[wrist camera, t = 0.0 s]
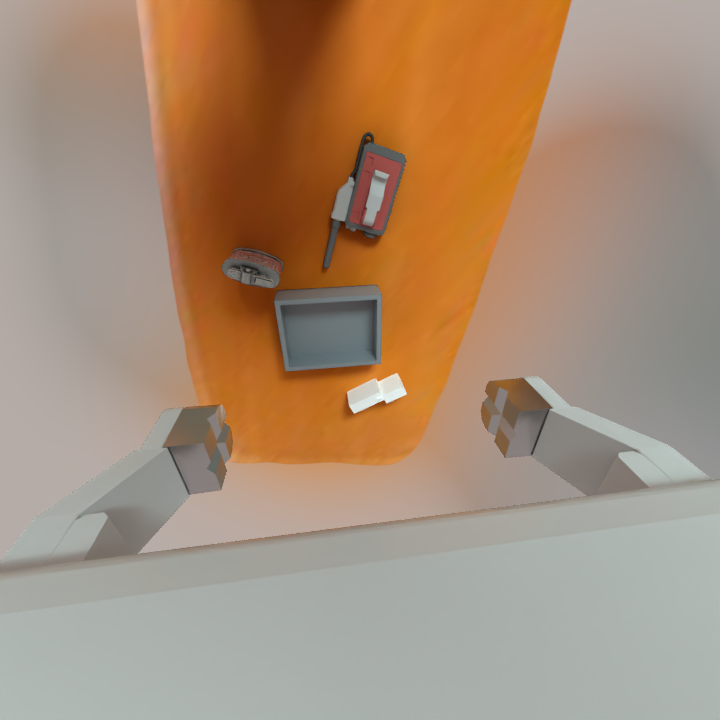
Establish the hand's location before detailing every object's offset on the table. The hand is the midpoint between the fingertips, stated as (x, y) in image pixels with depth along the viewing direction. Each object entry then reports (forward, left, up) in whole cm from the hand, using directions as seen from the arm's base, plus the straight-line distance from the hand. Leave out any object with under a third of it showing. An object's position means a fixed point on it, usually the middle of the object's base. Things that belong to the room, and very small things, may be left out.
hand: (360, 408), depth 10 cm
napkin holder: (+35, +9, -49) cm, 61 cm away
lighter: (+7, -11, -48) cm, 50 cm away
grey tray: (+19, 0, -48) cm, 52 cm away
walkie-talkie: (0, +6, -49) cm, 49 cm away
